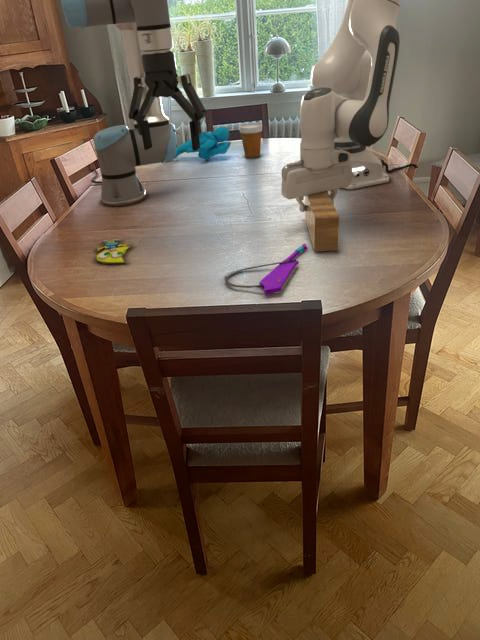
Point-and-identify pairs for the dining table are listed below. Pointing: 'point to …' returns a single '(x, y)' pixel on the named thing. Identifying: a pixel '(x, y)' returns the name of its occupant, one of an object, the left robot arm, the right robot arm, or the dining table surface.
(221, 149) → the toy
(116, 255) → the toy
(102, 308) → the dining table surface
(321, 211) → the bar
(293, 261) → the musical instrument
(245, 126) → the glass of beer
